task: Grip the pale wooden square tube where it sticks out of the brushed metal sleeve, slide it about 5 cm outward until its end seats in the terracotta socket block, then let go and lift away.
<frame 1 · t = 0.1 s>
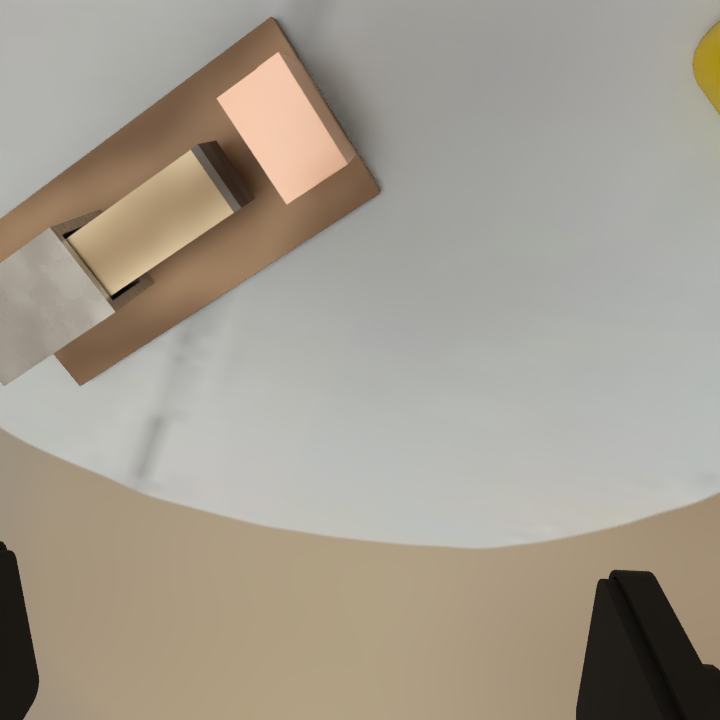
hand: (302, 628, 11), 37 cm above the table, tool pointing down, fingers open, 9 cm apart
walnut board: (173, 216, 46), on the table
terracotta socket: (304, 126, 44), resting on walnut board
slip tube: (110, 255, 42), point 5 cm above the table, slide at 0.0 cm
metal sleeve: (87, 276, 48), resting on walnut board
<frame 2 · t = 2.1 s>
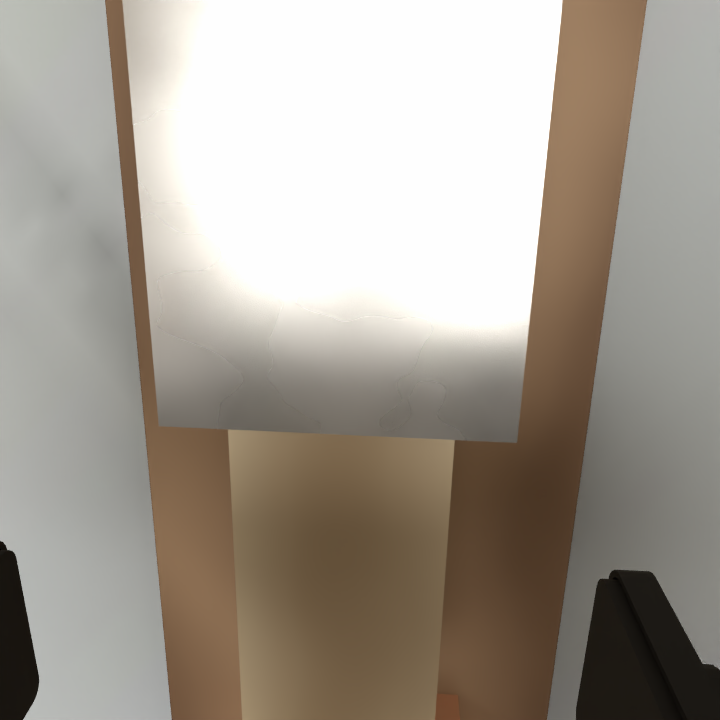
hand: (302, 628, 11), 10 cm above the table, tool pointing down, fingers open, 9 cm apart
walnut board: (364, 412, 20), on the table
terracotta socket: (357, 699, 24), resting on walnut board
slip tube: (349, 396, 14), point 6 cm above the table, slide at 0.0 cm
metal sleeve: (370, 133, 17), resting on walnut board
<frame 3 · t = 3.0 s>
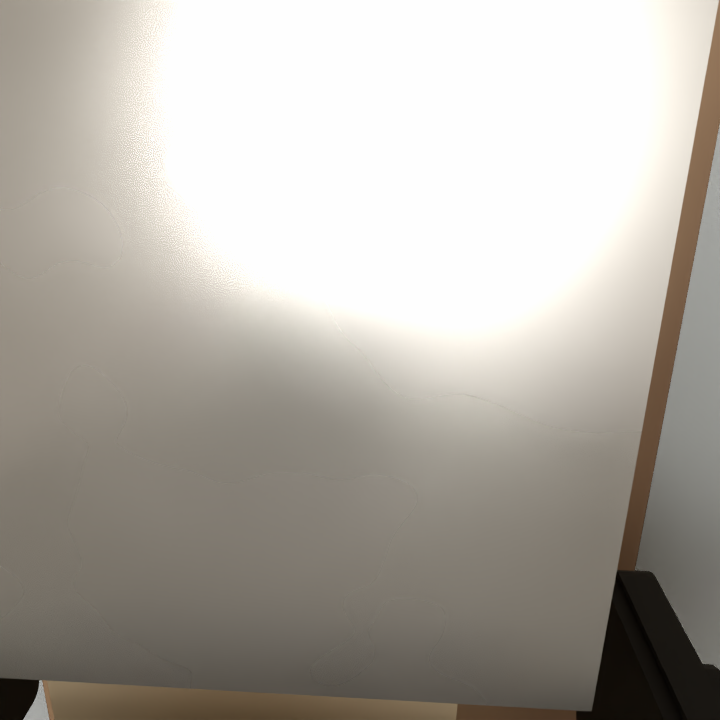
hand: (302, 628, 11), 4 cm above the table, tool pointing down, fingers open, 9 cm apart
walnut board: (326, 489, 14), on the table
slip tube: (281, 532, 8), point 5 cm above the table, slide at 0.0 cm
metal sleeve: (326, 95, 12), resting on walnut board
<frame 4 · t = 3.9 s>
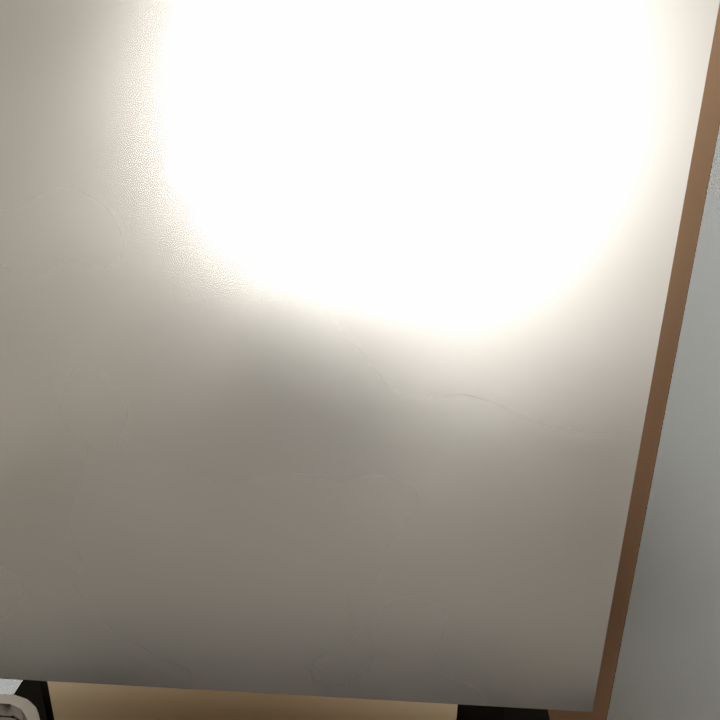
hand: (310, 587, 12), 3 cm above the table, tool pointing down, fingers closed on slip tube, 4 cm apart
walnut board: (326, 489, 14), on the table
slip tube: (281, 532, 8), point 6 cm above the table, slide at 0.0 cm, touching gripper
metal sleeve: (326, 95, 12), resting on walnut board
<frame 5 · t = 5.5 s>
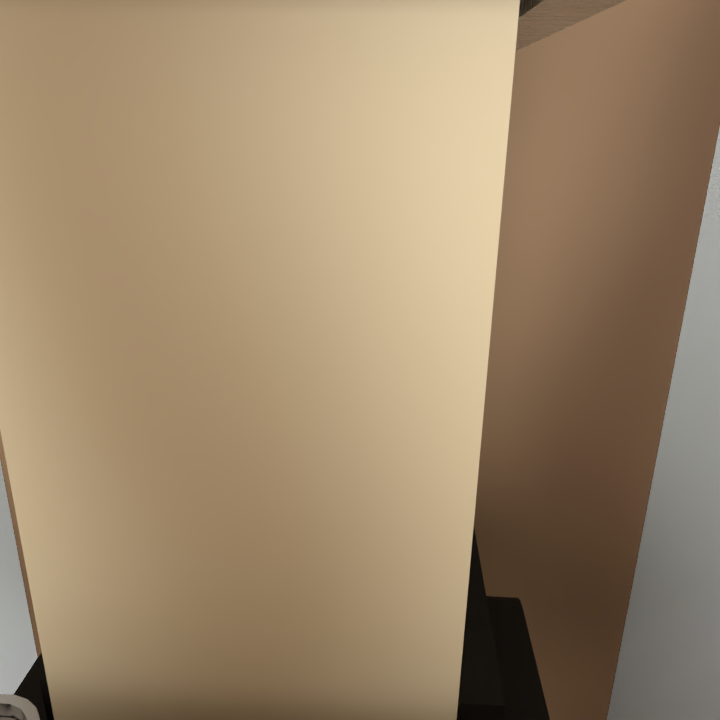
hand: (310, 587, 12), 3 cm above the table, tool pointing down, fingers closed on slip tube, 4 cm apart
walnut board: (326, 247, 13), on the table
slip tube: (281, 532, 8), point 5 cm above the table, slide at 5.1 cm, touching gripper
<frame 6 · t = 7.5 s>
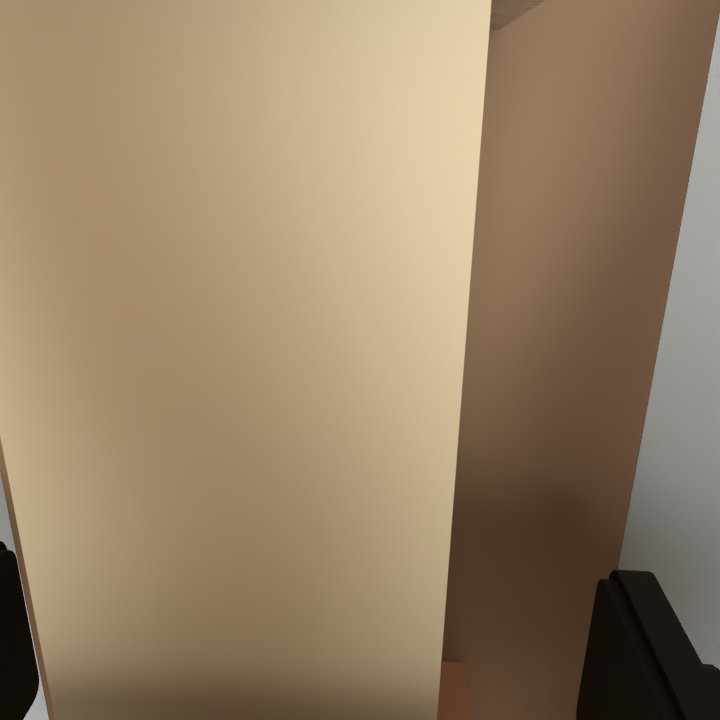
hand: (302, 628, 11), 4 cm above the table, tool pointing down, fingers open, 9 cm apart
walnut board: (316, 227, 13), on the table
terracotta socket: (319, 672, 17), resting on walnut board
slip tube: (271, 502, 8), point 5 cm above the table, slide at 5.2 cm, touching terracotta socket
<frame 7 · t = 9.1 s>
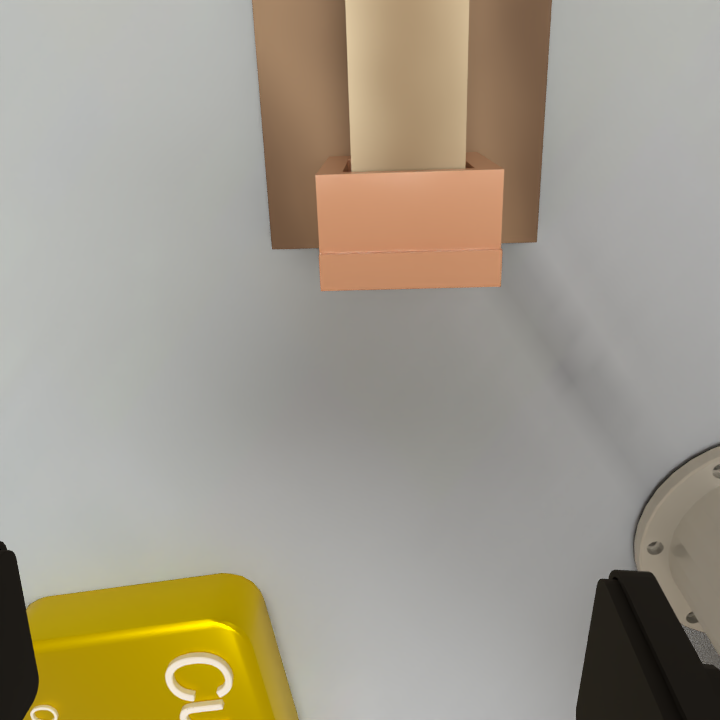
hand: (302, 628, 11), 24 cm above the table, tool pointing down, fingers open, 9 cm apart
element tile: (170, 672, 44), on the table
terracotta socket: (402, 196, 32), resting on walnut board
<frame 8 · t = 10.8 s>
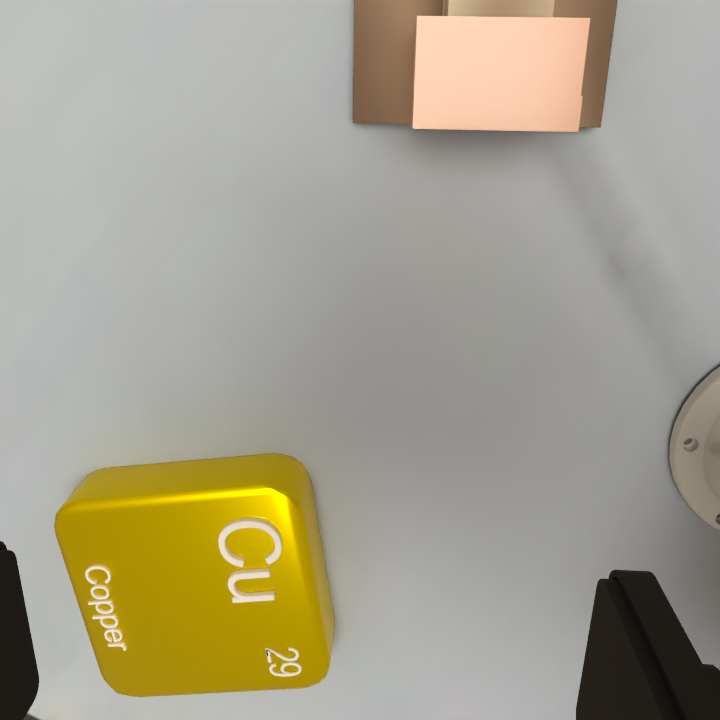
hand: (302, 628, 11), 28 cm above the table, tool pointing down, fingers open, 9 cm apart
element tile: (213, 555, 46), on the table
terracotta socket: (475, 81, 34), resting on walnut board
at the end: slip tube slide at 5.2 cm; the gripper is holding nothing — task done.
